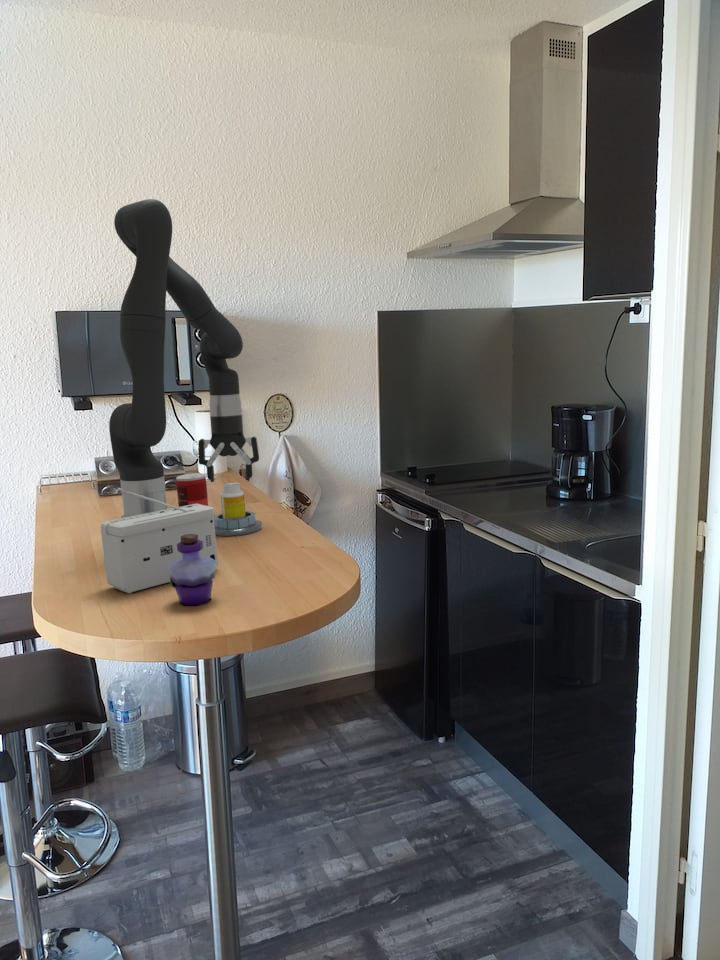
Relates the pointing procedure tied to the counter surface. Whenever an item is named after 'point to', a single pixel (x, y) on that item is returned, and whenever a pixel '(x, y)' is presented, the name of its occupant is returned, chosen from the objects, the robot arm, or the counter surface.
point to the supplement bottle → (233, 501)
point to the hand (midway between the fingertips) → (230, 480)
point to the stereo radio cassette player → (153, 544)
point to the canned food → (192, 489)
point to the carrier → (236, 525)
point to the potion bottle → (192, 572)
